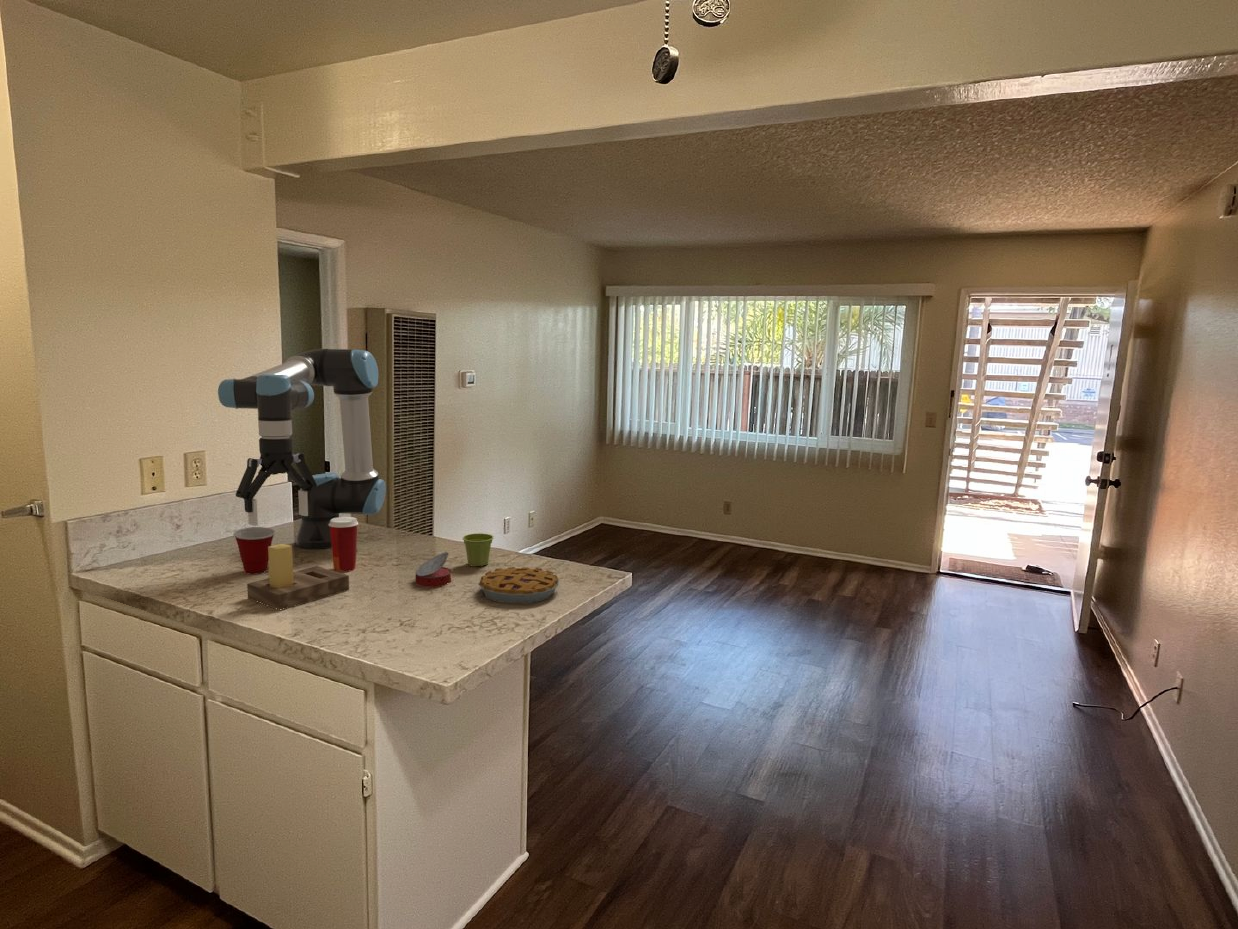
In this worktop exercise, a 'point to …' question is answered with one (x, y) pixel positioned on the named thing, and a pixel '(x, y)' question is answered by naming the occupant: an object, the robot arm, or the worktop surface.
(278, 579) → the square peg
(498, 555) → the worktop surface
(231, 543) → the worktop surface
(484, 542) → the plant pot
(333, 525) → the coffee cup
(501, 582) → the pie
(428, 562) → the canned food
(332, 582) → the socket block
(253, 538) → the plastic cup
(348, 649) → the worktop surface
